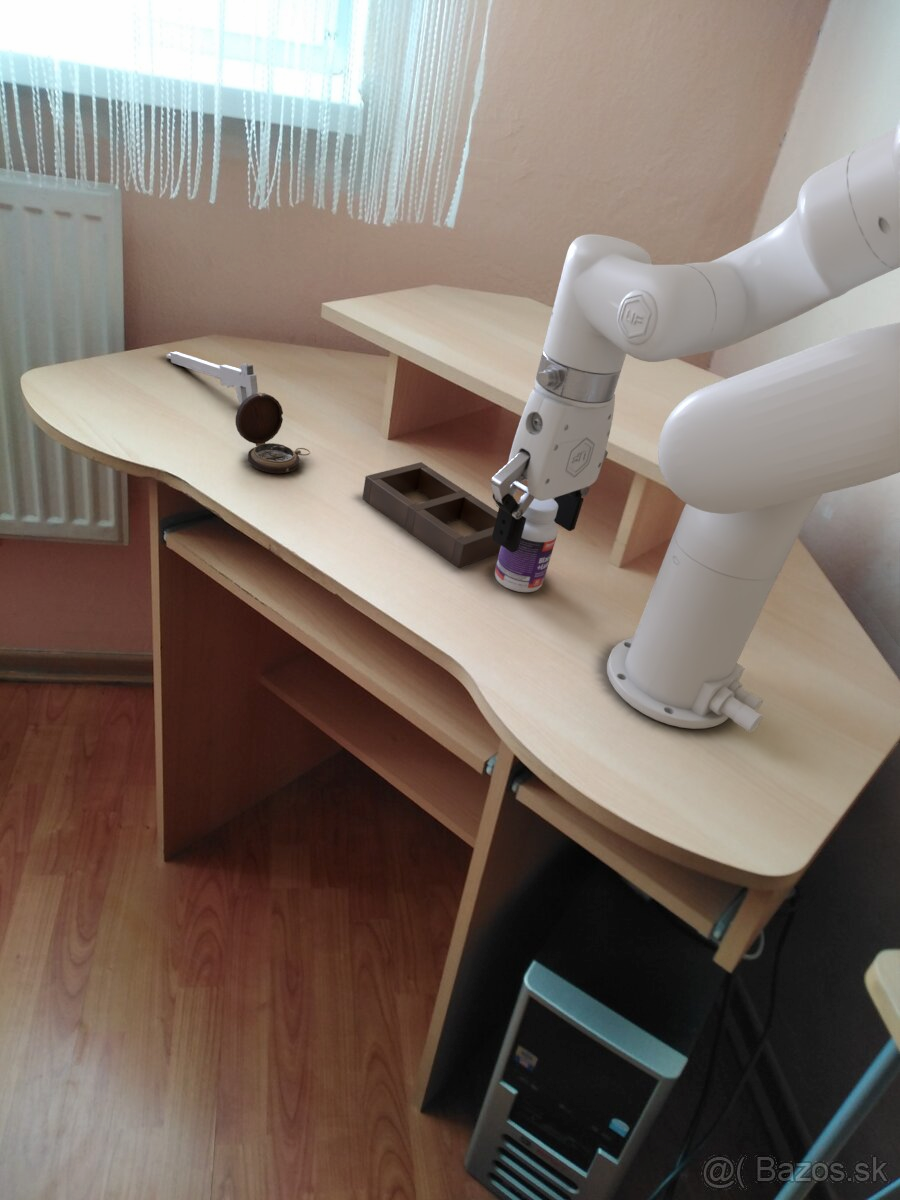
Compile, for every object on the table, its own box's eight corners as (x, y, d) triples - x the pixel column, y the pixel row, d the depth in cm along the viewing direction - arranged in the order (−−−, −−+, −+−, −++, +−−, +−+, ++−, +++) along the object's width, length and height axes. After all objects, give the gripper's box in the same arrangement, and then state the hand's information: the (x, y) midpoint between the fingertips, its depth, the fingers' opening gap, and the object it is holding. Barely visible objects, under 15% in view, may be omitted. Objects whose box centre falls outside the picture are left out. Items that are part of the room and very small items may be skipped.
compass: (264, 479, 104) (269, 421, 100) (231, 449, 109) (234, 393, 105) (322, 468, 109) (328, 413, 105) (288, 440, 114) (293, 386, 110)
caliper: (256, 413, 118) (260, 368, 115) (250, 415, 118) (252, 369, 114) (171, 357, 129) (172, 314, 125) (165, 358, 128) (165, 315, 124)
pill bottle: (539, 599, 94) (562, 520, 89) (489, 585, 95) (510, 506, 89) (544, 573, 99) (567, 497, 93) (498, 561, 99) (517, 484, 94)
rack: (512, 547, 102) (518, 525, 100) (458, 568, 96) (463, 544, 95) (417, 483, 111) (421, 461, 109) (362, 498, 105) (365, 475, 103)
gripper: (547, 406, 76) (503, 574, 86) (660, 381, 87) (610, 532, 97) (485, 373, 80) (450, 537, 90) (601, 353, 91) (559, 501, 101)
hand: (533, 534), depth 93 cm, fingers open, 8 cm apart
